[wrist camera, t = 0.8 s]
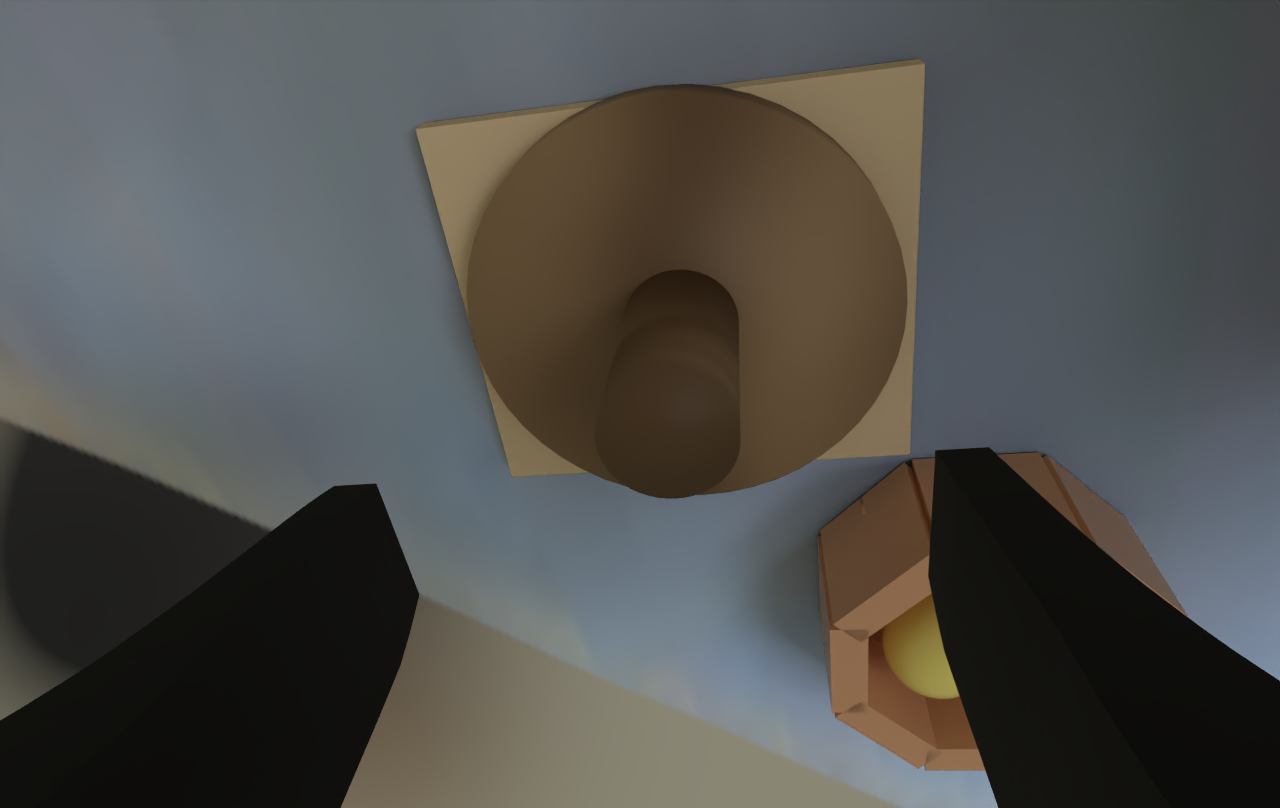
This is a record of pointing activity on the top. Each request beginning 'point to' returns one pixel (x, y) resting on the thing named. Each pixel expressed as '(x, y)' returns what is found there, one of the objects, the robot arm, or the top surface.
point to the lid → (687, 291)
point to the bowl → (925, 607)
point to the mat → (832, 100)
